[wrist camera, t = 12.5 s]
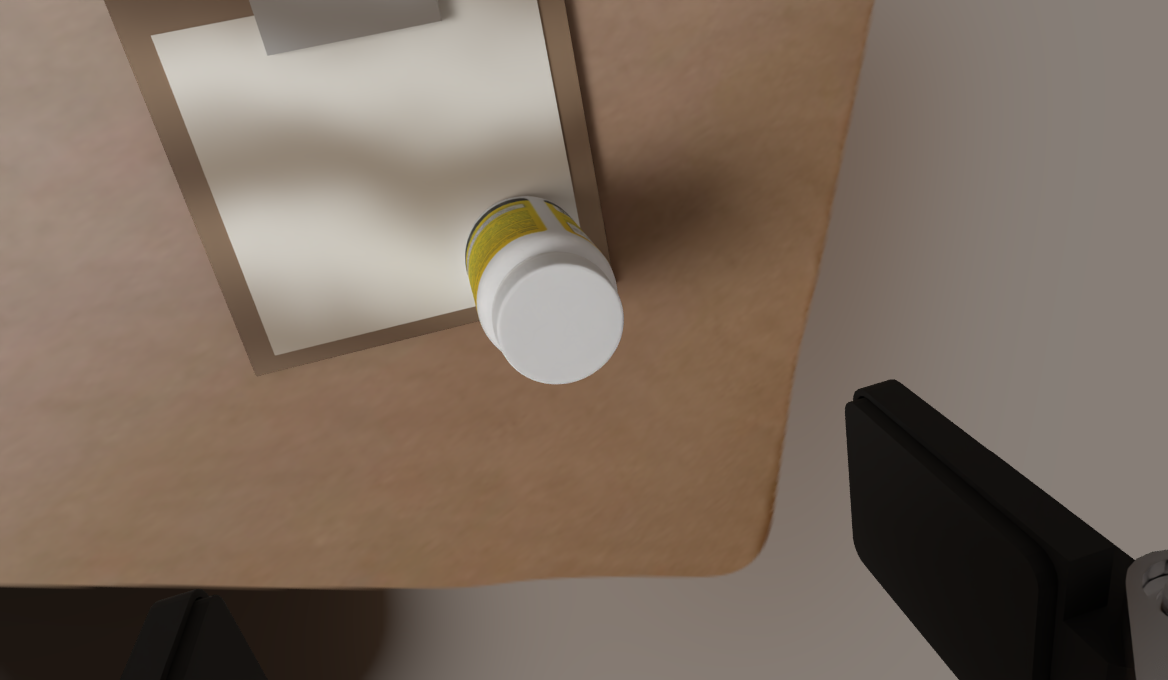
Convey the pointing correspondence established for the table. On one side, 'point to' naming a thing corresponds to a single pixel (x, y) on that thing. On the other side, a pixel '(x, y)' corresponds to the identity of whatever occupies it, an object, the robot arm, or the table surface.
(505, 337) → the supplement bottle
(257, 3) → the clipboard
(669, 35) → the table surface
